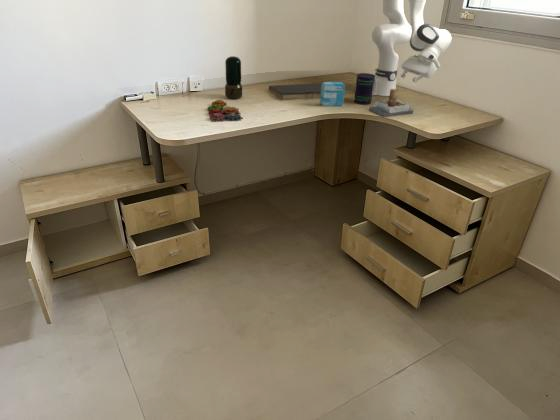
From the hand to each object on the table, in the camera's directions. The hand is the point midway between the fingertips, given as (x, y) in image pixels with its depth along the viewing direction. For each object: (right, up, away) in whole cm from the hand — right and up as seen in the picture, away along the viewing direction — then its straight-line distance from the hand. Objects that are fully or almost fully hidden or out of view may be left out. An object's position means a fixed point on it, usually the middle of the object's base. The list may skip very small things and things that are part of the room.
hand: (407, 79), depth 222 cm
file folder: (-54, 0, +31) cm, 62 cm away
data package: (-38, -11, +12) cm, 42 cm away
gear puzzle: (-95, -19, -5) cm, 97 cm away
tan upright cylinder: (-8, -14, +4) cm, 17 cm away
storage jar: (-20, -8, +19) cm, 28 cm away
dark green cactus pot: (-92, -5, +18) cm, 94 cm away
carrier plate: (-8, -16, +5) cm, 18 cm away
